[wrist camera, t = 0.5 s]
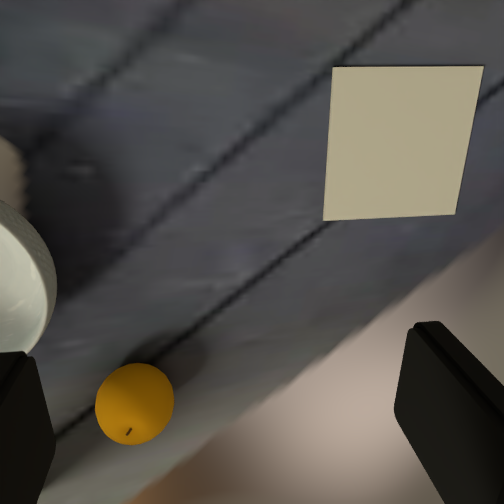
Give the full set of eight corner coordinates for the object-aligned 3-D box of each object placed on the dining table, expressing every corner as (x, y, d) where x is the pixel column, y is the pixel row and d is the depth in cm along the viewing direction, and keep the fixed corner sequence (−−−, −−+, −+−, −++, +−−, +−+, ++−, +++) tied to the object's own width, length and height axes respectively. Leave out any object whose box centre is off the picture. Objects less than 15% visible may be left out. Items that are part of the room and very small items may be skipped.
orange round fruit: (189, 387, 48) (188, 439, 41) (131, 418, 48) (121, 475, 41) (148, 339, 44) (139, 387, 38) (87, 373, 45) (68, 427, 38)
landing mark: (332, 67, 36) (333, 67, 36) (482, 66, 37) (483, 66, 37) (322, 220, 41) (323, 220, 41) (453, 213, 43) (454, 214, 43)
